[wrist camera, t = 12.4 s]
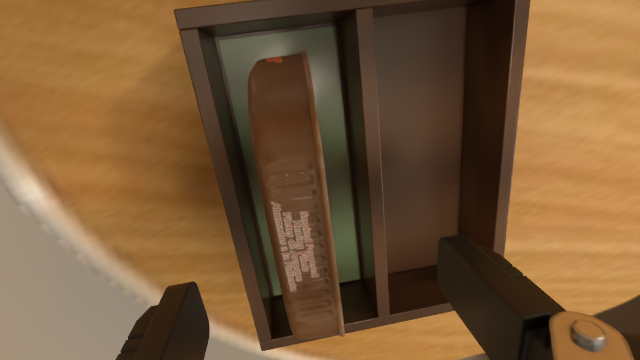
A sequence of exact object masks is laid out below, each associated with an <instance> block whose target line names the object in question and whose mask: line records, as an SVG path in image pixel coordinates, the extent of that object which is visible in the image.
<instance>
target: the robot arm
mask: <svg viewBox="0 0 640 360" xmlns="http://www.w3.org/2000/svg"><path fill="white" fill-rule="evenodd" d="M437 279H438V283H439V287H440V289H441V291H442V293H443V295H444V296H445V298H446V299H447V300H448V302H449V303H450V304H451V306H452V307H453V309H454V310H455V311H456V313H457V314H458V315H459V317H460V318H461V320H462V321H463V322H464V324H465V325H466V327H467V328H468V329H469V331H470V332H471V333H472V335H473V336H474V338H475V339H476V340H477V342H478V343H479V344H480V346H481V347H482V349H483V350H484V351H485V353H486V354H487V355H488V357H489V358H490V360H640V335H638V334H625V333H619V332H618V331H617V330H615V329H614V328H613V327H612V326H610V325H609V324H607V323H605V322H603V321H601V320H599V319H597V318H595V317H593V316H590V315H587V314H583V313H579V312H571V311H566V310H565V309H564V308H562V307H561V306H560V305H559V304H558V303H557V302H555V301H554V300H553V299H552V298H551V297H549V296H548V295H547V294H546V293H545V292H544V291H542V290H541V289H540V288H539V287H538V286H537V285H535V284H534V283H533V282H532V281H531V280H530V279H528V278H527V277H526V276H523V274H522V273H521V272H520V271H519V270H518V269H517V268H515V267H513V266H512V264H511V263H510V262H508V261H507V260H506V259H505V258H504V257H503V256H501V255H500V254H499V253H497V252H494V251H492V250H490V249H488V248H486V247H484V246H480V247H478V246H477V245H476V244H475V243H474V242H473V241H472V240H471V239H469V238H468V237H467V236H466V235H464V234H459V235H453V236H448V237H442V238H440V239H439V241H438V262H437ZM208 340H209V321H208V317H207V314H206V311H205V307H204V304H203V301H202V298H201V295H200V292H199V289H198V286H197V284H196V283H195V282H189V283H183V284H177V285H172V286H168V287H167V288H166V290H165V292H164V294H163V296H162V298H161V300H160V302H159V305H156V306H151V307H150V308H149V309H148V310H147V311H146V312H145V313H144V314H143V315H142V316H141V317H140V318H139V319H138V320H137V322H136V323H135V325H134V327H133V329H132V331H131V332H130V334H129V336H128V340H126V342H125V344H124V345H123V347H122V349H121V354H119V355H118V356H117V358H116V360H204V356H205V352H206V348H207V344H208Z"/></svg>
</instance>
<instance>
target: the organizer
mask: <svg viewBox="0 0 640 360" xmlns="http://www.w3.org/2000/svg"><path fill="white" fill-rule="evenodd" d="M529 7H530V0H253V1H244V2H235V3H226V4H217V5H208V6H200V7H191V8H182V9H175V10H174V14H175V18H176V22H177V26H178V29H179V30H180V31H179V33H180V37H181V41H182V45H183V49H184V53H185V57H186V60H187V64H188V68H189V72H190V76H191V80H192V84H193V87H194V91H195V95H196V99H197V103H198V107H199V111H200V114H201V118H202V122H203V126H204V130H205V134H206V138H207V141H208V145H209V149H210V153H211V157H212V161H213V165H214V169H215V172H216V176H217V180H218V184H219V188H220V192H221V196H222V199H223V203H224V207H225V211H226V215H227V219H228V223H229V226H230V230H231V234H232V238H233V242H234V246H235V250H236V253H237V257H238V261H239V265H240V269H241V273H242V277H243V280H244V284H245V288H246V292H247V296H248V300H249V304H250V308H251V311H252V315H253V319H254V323H255V327H256V331H257V335H258V338H259V341H260V346H261V350H262V351H265V350H270V349H274V348H279V347H284V346H289V345H293V344H298V343H303V342H308V341H312V340H317V339H322V338H327V337H321V338H314V339H305V340H304V339H298V338H296V337H295V336H294V334H293V332H292V330H291V327H290V325H289V321H288V317H287V313H286V309H285V304H284V300H283V296H282V291H281V287H280V282H279V278H278V273H277V269H276V264H275V259H274V254H273V250H272V245H271V241H270V236H269V231H268V225H267V221H266V217H265V211H264V206H263V201H262V197H261V191H260V186H259V181H258V177H257V171H256V166H255V160H254V154H253V147H252V140H251V133H250V125H249V114H248V91H247V89H248V78H249V74H250V72H251V70H252V68H253V66H254V65H255V63H256V62H257V61H258V60H261V59H265V58H271V57H280V56H288V55H294V54H300V53H301V52H302V51H306V52H307V56H308V59H309V65H310V70H311V76H312V82H313V89H314V95H315V102H316V108H317V114H318V123H319V129H320V136H321V143H322V150H323V158H324V166H325V174H326V183H327V192H328V200H329V207H330V216H331V224H332V231H333V239H334V248H335V255H336V264H337V270H338V279H339V287H340V295H341V303H342V312H343V319H344V330H345V334H346V333H350V332H355V331H360V330H365V329H369V328H374V327H379V326H384V325H388V324H393V323H398V322H403V321H407V320H412V319H417V318H422V317H426V316H431V315H436V314H441V313H445V312H450V311H455V310H454V309H453V307H452V306H451V304H450V303H449V302H448V300H447V299H446V298H445V296H444V295H443V293H442V291H441V289H440V287H439V283H438V279H437V262H438V241H439V239H440V238H442V237H448V236H453V235H459V234H464V235H466V236H467V237H468V238H469V239H471V240H472V241H473V242H474V243H475V244H476V245H477V246H478V247H480V246H484V247H486V248H488V249H490V250H492V251H494V252H497V253H499V254H500V255H501V256H503V257H504V251H505V241H506V231H507V221H508V212H509V202H510V192H511V183H512V173H513V163H514V153H515V144H516V134H517V124H518V114H519V105H520V95H521V85H522V75H523V66H524V56H525V46H526V36H527V27H528V17H529ZM335 336H336V335H335ZM328 337H331V336H328Z"/></svg>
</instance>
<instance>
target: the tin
mask: <svg viewBox="0 0 640 360" xmlns="http://www.w3.org/2000/svg"><path fill="white" fill-rule="evenodd" d="M247 91H248V114H249V125H250V133H251V140H252V147H253V154H254V160H255V166H256V171H257V177H258V181H259V186H260V191H261V197H262V201H263V206H264V211H265V217H266V221H267V225H268V231H269V236H270V241H271V245H272V250H273V254H274V259H275V264H276V269H277V273H278V278H279V282H280V287H281V291H282V296H283V300H284V304H285V309H286V313H287V317H288V321H289V325H290V327H291V330H292V332H293V334H294V336H295V337H296V338H298V339H304V340H305V339H314V338H321V337H328V336H335V335H339V336H342V337H343V336H345V330H344V319H343V312H342V303H341V295H340V287H339V279H338V270H337V264H336V255H335V248H334V239H333V231H332V224H331V216H330V207H329V200H328V192H327V183H326V174H325V166H324V158H323V150H322V143H321V136H320V129H319V123H318V114H317V108H316V102H315V95H314V89H313V82H312V76H311V70H310V65H309V59H308V56H307V52H306V51H302V52H301V53H300V54H294V55H288V56H280V57H271V58H265V59H261V60H258V61H257V62H256V63H255V65H254V66H253V68H252V70H251V72H250V74H249V78H248V89H247Z"/></svg>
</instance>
